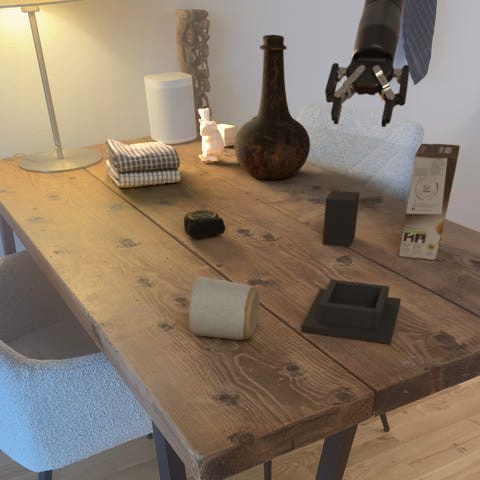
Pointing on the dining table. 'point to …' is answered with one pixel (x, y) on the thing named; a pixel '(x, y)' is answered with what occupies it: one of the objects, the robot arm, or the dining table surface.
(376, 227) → the dining table surface
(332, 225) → the dark grey rectangular block
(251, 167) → the glass bottle
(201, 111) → the white upright figurine
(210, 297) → the off-white cylinder
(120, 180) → the towel
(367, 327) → the base pad
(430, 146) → the coffee box
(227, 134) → the small box
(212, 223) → the tape measure
